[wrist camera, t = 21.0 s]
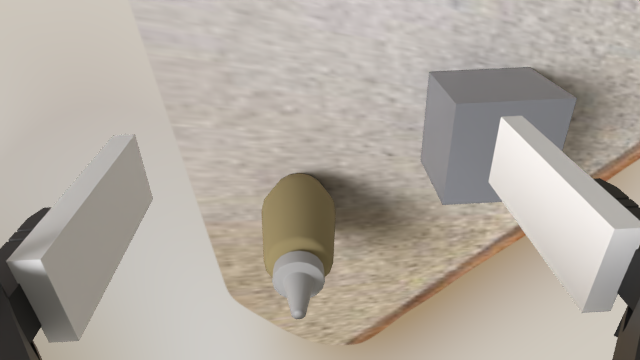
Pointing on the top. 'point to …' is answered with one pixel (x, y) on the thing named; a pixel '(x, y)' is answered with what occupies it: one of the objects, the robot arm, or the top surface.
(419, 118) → the top surface
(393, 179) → the top surface
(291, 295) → the squeeze bottle
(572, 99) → the grey cubic block
